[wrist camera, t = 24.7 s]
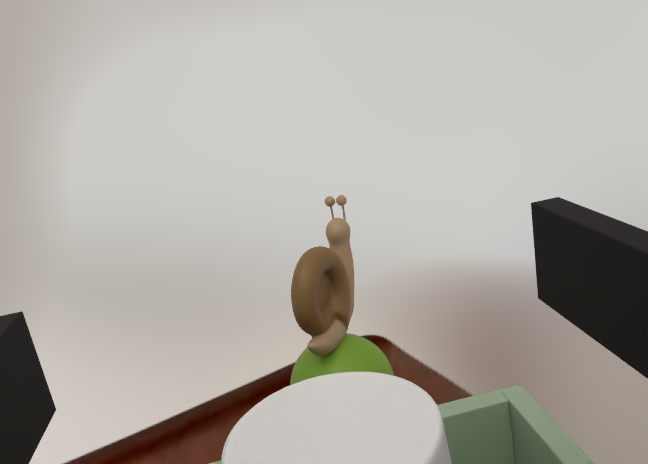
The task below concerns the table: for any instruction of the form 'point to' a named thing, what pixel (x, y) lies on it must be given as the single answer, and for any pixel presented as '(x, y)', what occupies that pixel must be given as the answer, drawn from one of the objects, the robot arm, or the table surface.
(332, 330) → the snail figurine
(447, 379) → the table surface
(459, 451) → the bin
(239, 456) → the pill bottle
